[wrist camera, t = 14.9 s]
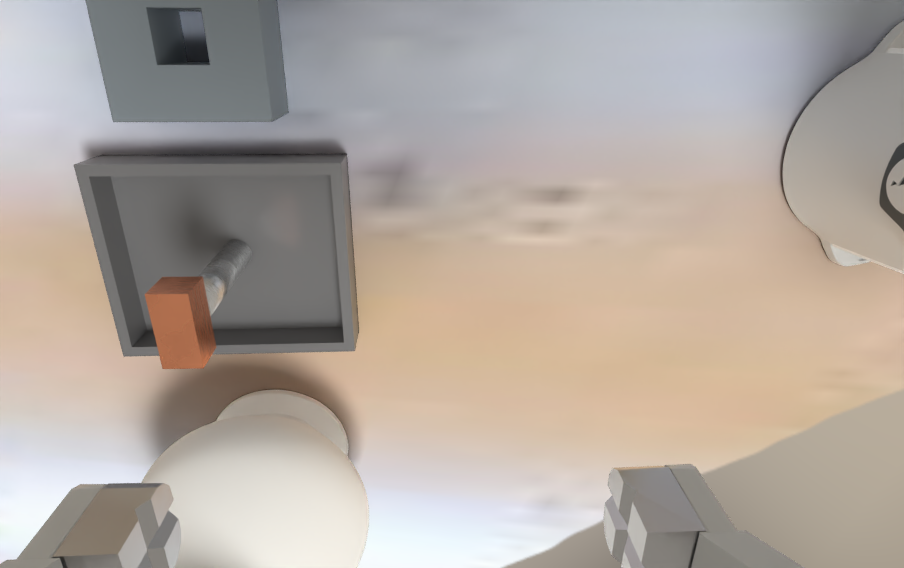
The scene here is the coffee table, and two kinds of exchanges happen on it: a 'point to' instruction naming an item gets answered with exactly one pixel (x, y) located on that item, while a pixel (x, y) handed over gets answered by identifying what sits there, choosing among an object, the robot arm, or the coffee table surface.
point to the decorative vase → (266, 487)
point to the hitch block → (190, 83)
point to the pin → (193, 308)
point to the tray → (219, 221)
